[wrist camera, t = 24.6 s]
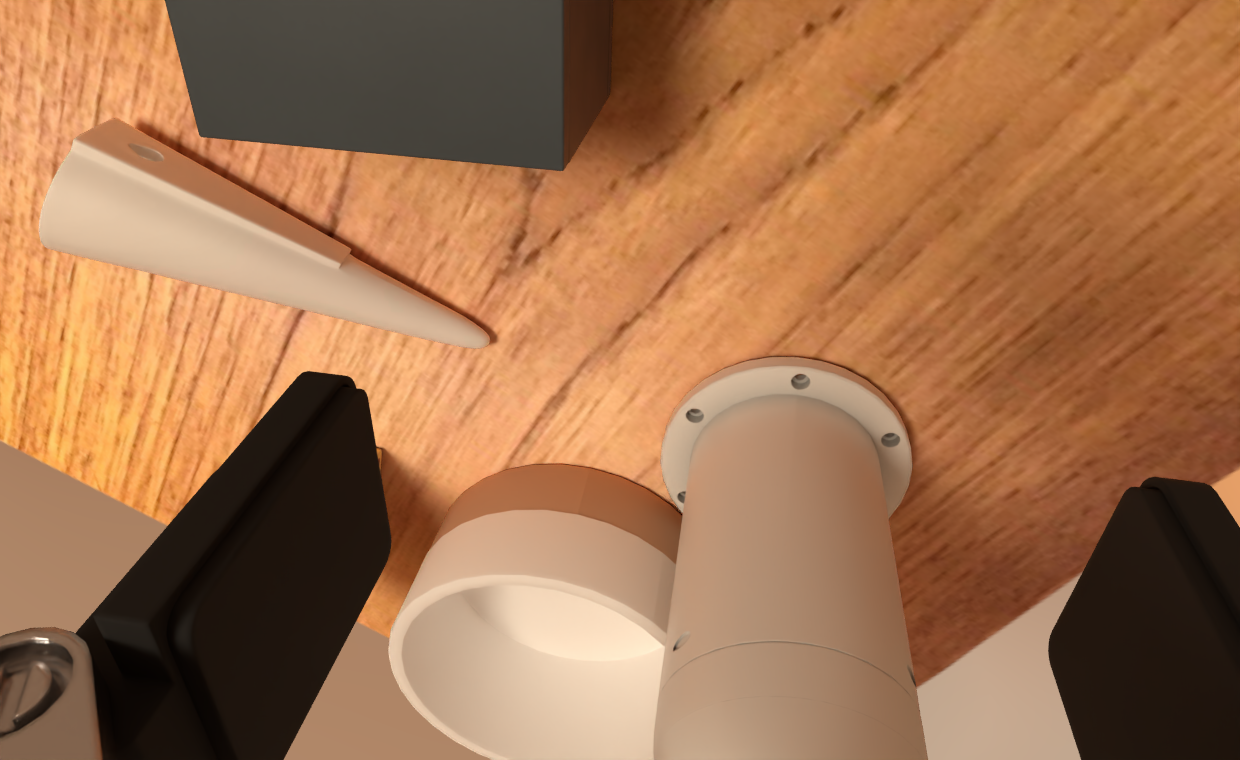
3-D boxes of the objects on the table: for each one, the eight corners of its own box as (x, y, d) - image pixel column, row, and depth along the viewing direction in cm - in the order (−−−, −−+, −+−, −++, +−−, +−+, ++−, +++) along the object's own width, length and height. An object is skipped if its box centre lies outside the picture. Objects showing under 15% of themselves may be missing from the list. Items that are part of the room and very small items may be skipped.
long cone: (451, 391, 46) (98, 219, 41) (503, 305, 43) (129, 108, 38) (430, 454, 41) (26, 269, 36) (487, 362, 38) (56, 145, 33)
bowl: (388, 555, 52) (329, 666, 45) (554, 409, 44) (513, 519, 37) (589, 693, 57) (564, 811, 50) (776, 586, 48) (776, 712, 41)
